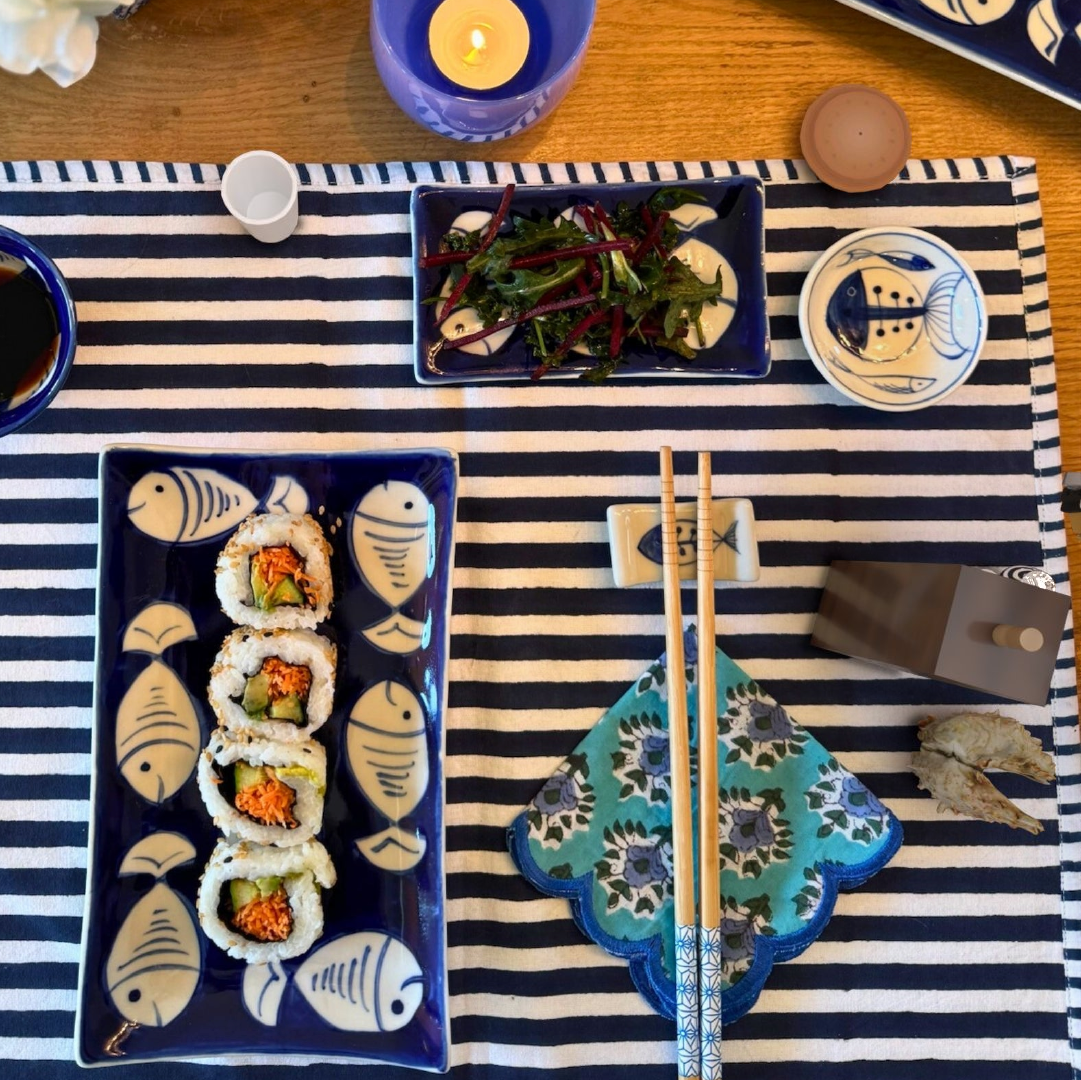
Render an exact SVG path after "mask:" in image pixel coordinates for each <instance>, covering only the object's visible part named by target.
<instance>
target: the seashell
mask: <svg viewBox="0 0 1081 1080" xmlns="http://www.w3.org/2000/svg"><path fill="white" fill-rule="evenodd" d="M917 725H918V729H919V730H918V733H917V734H916V735H917V738H918V740H919V741H921V744H920V749H919V750H920V751H911V753H910V761H911V763H908V764H906V767H907V768H911V769H913V771H912V773H913V774H914V775H915V776H916V777H918V778H919V781H918V782H919V783H918V784H917V786H916V787H917V788H918V789H919V790H921V791H922V790H924V789H927V790H928V791H929V792H930V793H931V794H930V795H931V798H933V799H935V800H937V804H938V805H937V808H936V813H937V814H939V815H941V814H944V813H945V811H946V809H948V810H951V811H952V812H953V815H954V816H955V817H957V816H958V815H959V814H961V815H963V816H966V817H971V818H972V819H974V820H976V819H978V820H982V821H983V822H989V823H991V824H992V823H994V822H997V823H998V824H1000V825H1002V823H1003V824H1004V823H1005V824H1007V825H1008V826H1009V827H1010V828H1012V829H1014V830H1015V829H1018V828H1021V829H1023V830H1025V831H1027V832H1030V833H1032V834H1033V835H1038V834H1040V833H1041V832H1043V831H1044V832H1045V829H1044V825H1042V822H1040V821H1039V819H1037V818H1035V817H1033V816H1031V815H1029V814H1028V813H1025V812H1024V811H1023V810H1022V809H1020V808H1019V807H1018V806H1017V805H1016V804H1014V802H1012V801H1011V800H1010V799H1009V798H1007V796H1005V795H1004V794H1003V793H1002V792H1001V791H1000V790H998V789H997V788H996V787H995V786H994V785H993V783H992V782H991V781H990V779H989V778H988V777H986V775H985V774H984V771H985V770H986V769H997V770H1001V771H1004V772H1008V773H1014V774H1017V775H1020V776H1024V777H1026V778H1027V779H1029V780H1032V781H1034V782H1036V783H1040V784H1043V785H1051V783H1050V782H1051V781H1053V780H1057V778H1056V777H1055V773H1056V766H1057V764H1056V763H1055V762H1054V761H1053V757H1052V755H1051V754H1050V753H1047V752H1045V751H1042V750H1043V746H1042V744H1043V741H1042V739H1040V738H1038V737H1034V736H1031V732H1030V731H1029V730H1027V729H1025V726H1024V725H1023V724H1022V723H1021V722H1020V721H1019V720H1017V719H1016V718H1014V717H1011V716H1002V715H1001V712H1000V709H999V708H998V709H996V710H994V711H993V712H990V711H988V710H987V711H986V712H984V713H981V712H977V711H970V710H968V709H964V710H963V711H962V712H954V711H952V712H951V713H950V714H948V715H946V716H943V717H938V716H936V715H933V714H931V715H930V714H927V715H926V718H925V719H921V720H918V722H917ZM1048 781H1049V782H1048Z"/></svg>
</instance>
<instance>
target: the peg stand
mask: <svg viewBox="0 0 1081 1080" xmlns="http://www.w3.org/2000/svg"><path fill="white" fill-rule="evenodd" d="M1072 599H1073V596H1072V595H1067V594H1064V593H1062V592H1058V591H1056V592H1055V591H1051V590H1048V589H1044V588H1041V587H1038V586H1034V585H1031V584H1027V583H1024V582H1021V581H1017V580H1014V579H1010V578H1007V577H1004V576H1000V575H999V574H998V573H996V574H994V573H990V572H987V571H983V570H981V569H979V568H976V567H973V566H969V565H966V564H961V563H934V562H933V563H932V562H931V563H929V562H903V561H896V562H895V561H867V560H864V561H863V560H839V559H838V560H837V559H836V560H834V559H832V560H831V562H830V565H829V569H828V573H827V577H826V580H825V584H824V588H823V592H822V596H821V599H820V603H819V608H818V610H817V613H816V617H815V622H814V626H813V629H812V633H811V638H810V641H809V645H810V646H812V647H813V646H814V647H817V648H820V649H823V650H827V651H829V652H834V653H837V654H840V655H843V656H847V657H850V658H854V659H857V660H861V661H864V662H867V663H870V664H873V665H877V666H881V667H883V668H887V669H890V670H895V671H898V672H902V673H906V674H910V675H914V676H918V677H922V678H926V679H930V680H934V681H938V682H942V683H946V684H949V685H954V686H958V687H962V688H966V689H970V690H974V691H978V692H982V693H986V694H989V695H994V696H996V697H997V696H998V697H1001V698H1006V699H1009V700H1014V701H1017V702H1021V703H1026V704H1030V705H1033V706H1038V707H1042V708H1046V704H1047V700H1048V696H1049V692H1050V688H1051V684H1052V679H1053V676H1054V671H1055V668H1056V664H1057V659H1058V655H1059V651H1060V647H1061V644H1062V640H1063V637H1064V636H1063V635H1064V631H1065V627H1066V623H1067V619H1068V614H1069V611H1070V607H1071V603H1072Z"/></svg>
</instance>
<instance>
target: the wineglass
mask: <svg viewBox="0 0 1081 1080" xmlns="http://www.w3.org/2000/svg"><path fill="white" fill-rule="evenodd" d="M980 570H983V571H987V572H990V573H994V574H997V573H996V572H995V571H994V570H992V569H988V568H982V569H980ZM998 575H1000V576H1004V577H1007V578H1010V579H1014V580H1017V581H1021V582H1024V583H1027V584H1031V585H1034V586H1038V587H1041V588H1044V589H1048V590H1051V591H1055V592H1057V589H1056V587H1057V586H1056V583H1055V581H1054V579H1053V578H1052V577H1051V575H1050V574H1049V573H1047V572H1046V571H1044V570H1042V569H1039V568H1037V567H1034V566H1030V565H1025V564H1024V565H1022V564H1017V565H1012V566H1008V567H1007V568H1005V569H1003V570H1002V571H1001V572H1000V573H999V574H998Z"/></svg>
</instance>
